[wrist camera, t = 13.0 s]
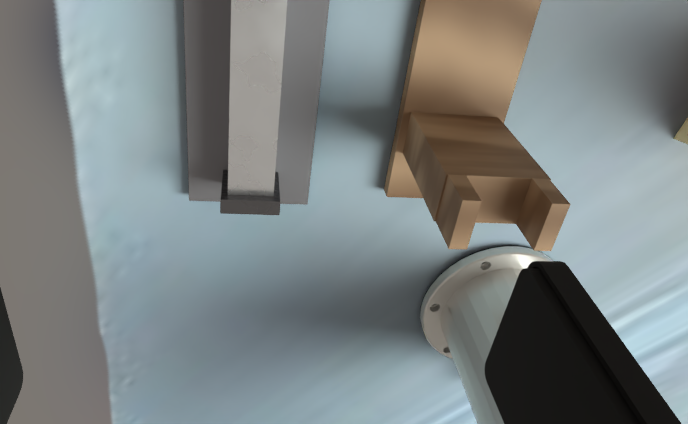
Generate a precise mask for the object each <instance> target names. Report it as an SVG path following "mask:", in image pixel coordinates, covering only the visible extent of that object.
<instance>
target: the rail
mask: <svg viewBox="0 0 688 424" xmlns="http://www.w3.org/2000/svg"><path fill="white" fill-rule="evenodd" d="M286 13H287V0H231V39H230V94H229V149H228V170H223V177H222V189H221V206H220V213H229V214H261V215H279V213H280V190H279V176H278V172H275V168H276V154H277V140H278V126H279V112H280V98H281V84H282V70H283V56H284V41H285V27H286Z"/></svg>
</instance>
